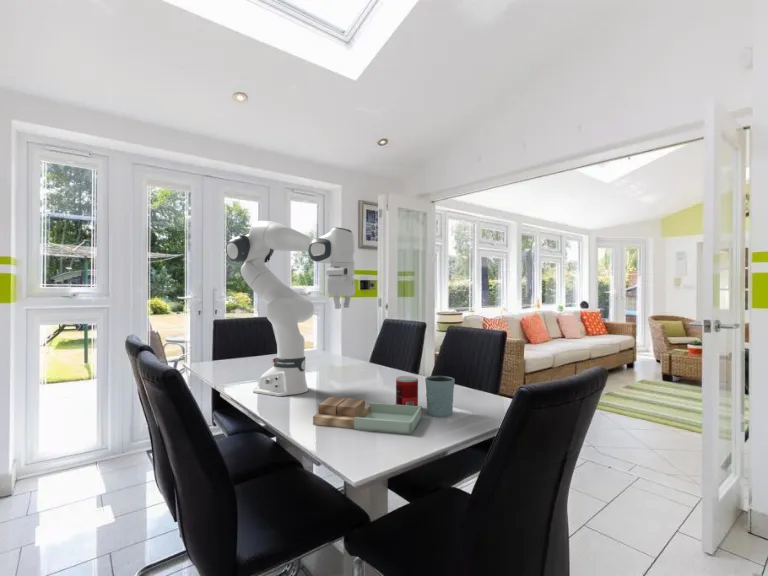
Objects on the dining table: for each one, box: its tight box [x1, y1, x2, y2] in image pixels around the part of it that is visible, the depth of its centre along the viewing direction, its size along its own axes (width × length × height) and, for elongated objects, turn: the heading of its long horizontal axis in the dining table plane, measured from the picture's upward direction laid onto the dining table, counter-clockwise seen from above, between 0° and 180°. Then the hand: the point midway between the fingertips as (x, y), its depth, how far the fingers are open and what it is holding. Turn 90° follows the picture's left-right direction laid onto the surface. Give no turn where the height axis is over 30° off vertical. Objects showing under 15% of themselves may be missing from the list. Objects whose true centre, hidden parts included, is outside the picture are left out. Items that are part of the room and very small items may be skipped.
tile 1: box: [317, 396, 348, 415], centre depth 139 cm, size 6×10×3 cm, turn 165°
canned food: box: [395, 375, 419, 406], centre depth 150 cm, size 8×8×11 cm
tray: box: [353, 402, 423, 436], centre depth 134 cm, size 18×18×4 cm
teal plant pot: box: [424, 375, 456, 418], centre depth 145 cm, size 10×10×12 cm
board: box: [312, 405, 370, 429], centre depth 138 cm, size 14×16×2 cm
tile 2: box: [337, 397, 366, 417], centre depth 138 cm, size 6×10×3 cm, turn 165°
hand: (342, 308), depth 156 cm, fingers open, 8 cm apart
